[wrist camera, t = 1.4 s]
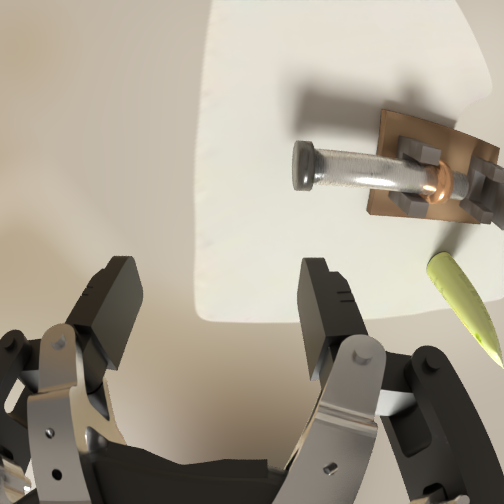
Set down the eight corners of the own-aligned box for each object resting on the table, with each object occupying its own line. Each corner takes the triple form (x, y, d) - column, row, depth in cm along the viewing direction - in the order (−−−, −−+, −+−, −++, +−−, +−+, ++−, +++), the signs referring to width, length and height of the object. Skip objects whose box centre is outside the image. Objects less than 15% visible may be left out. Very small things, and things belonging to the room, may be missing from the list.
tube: (418, 279, 36) (477, 383, 20) (427, 251, 33) (500, 357, 17) (444, 275, 36) (504, 369, 19) (454, 249, 33) (525, 343, 17)
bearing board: (381, 109, 23) (418, 118, 17) (494, 145, 23) (529, 163, 17) (366, 210, 30) (392, 242, 24) (475, 220, 30) (503, 246, 24)
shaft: (293, 134, 23) (302, 144, 19) (452, 159, 23) (477, 173, 19) (290, 182, 26) (298, 201, 22) (443, 196, 26) (466, 214, 22)
